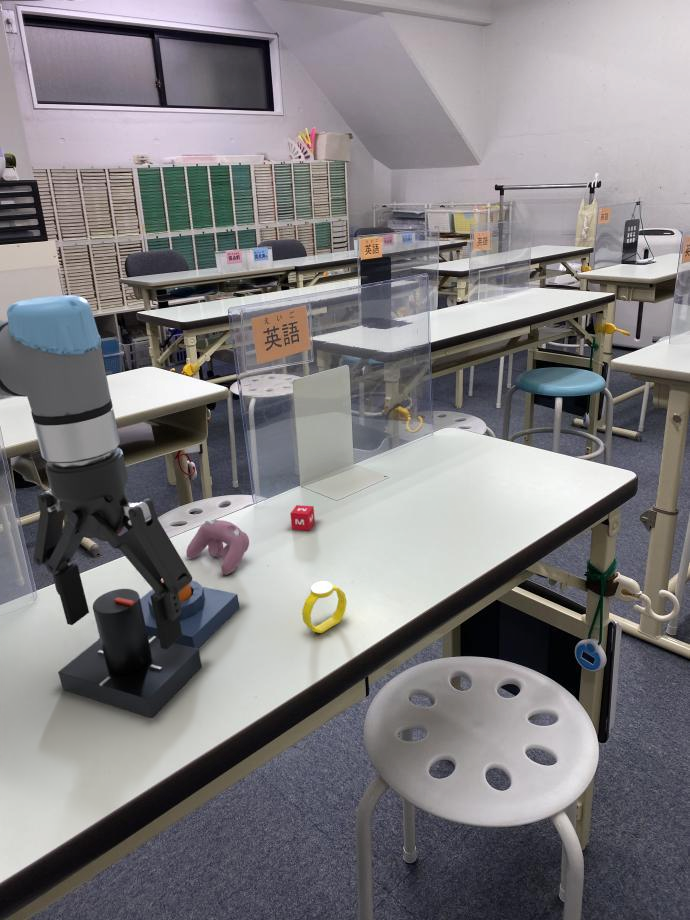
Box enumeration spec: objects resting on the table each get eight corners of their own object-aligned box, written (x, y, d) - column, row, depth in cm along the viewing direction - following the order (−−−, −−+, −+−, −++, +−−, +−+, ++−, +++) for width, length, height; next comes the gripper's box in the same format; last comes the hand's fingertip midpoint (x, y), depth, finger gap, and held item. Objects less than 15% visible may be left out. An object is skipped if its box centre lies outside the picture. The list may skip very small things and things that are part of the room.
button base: (119, 632, 88) (113, 606, 87) (168, 592, 97) (163, 567, 95) (194, 652, 83) (189, 624, 82) (239, 607, 92) (235, 582, 90)
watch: (338, 612, 89) (334, 572, 87) (351, 621, 87) (348, 581, 85) (300, 632, 86) (296, 591, 83) (314, 642, 84) (310, 600, 81)
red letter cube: (292, 529, 112) (290, 513, 111) (298, 521, 115) (296, 505, 114) (309, 530, 111) (307, 514, 110) (315, 522, 114) (313, 506, 113)
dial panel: (61, 690, 78) (56, 671, 77) (117, 643, 86) (113, 625, 85) (151, 718, 73) (147, 698, 72) (202, 666, 81) (199, 647, 80)
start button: (153, 601, 88) (151, 588, 87) (173, 585, 91) (171, 572, 90) (179, 607, 86) (176, 593, 85) (198, 591, 89) (195, 577, 89)
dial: (97, 668, 77) (81, 606, 74) (127, 642, 82) (113, 582, 79) (131, 678, 75) (117, 615, 72) (160, 651, 80) (148, 590, 77)
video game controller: (246, 576, 102) (257, 530, 102) (223, 576, 98) (235, 529, 98) (205, 557, 108) (215, 514, 108) (182, 557, 105) (192, 512, 105)
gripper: (206, 450, 67) (234, 631, 75) (25, 432, 78) (66, 593, 85) (156, 480, 61) (193, 674, 69) (-33, 456, 71) (17, 627, 79)
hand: (123, 629), depth 77 cm, fingers open, 13 cm apart
